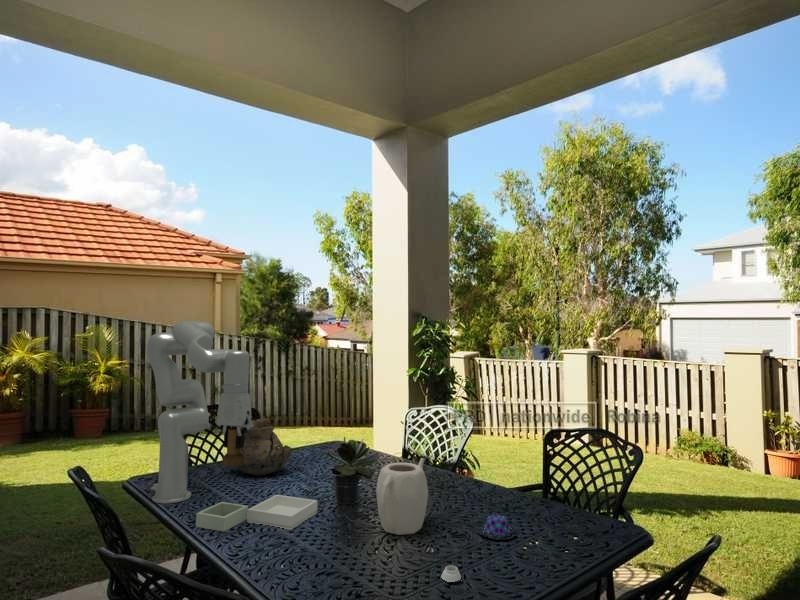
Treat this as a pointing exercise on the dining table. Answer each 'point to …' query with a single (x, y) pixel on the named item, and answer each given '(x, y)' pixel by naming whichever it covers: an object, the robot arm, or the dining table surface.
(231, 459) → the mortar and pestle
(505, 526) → the purple patterned dome
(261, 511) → the tray
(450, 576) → the white jar
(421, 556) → the dining table surface
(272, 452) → the clay pot
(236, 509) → the box
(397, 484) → the watering can
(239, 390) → the robot arm
